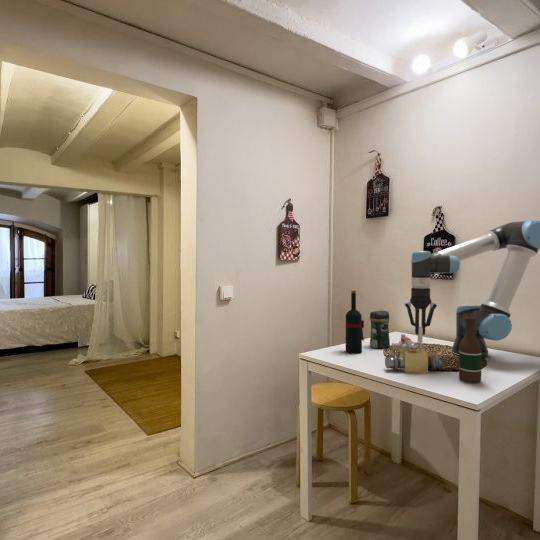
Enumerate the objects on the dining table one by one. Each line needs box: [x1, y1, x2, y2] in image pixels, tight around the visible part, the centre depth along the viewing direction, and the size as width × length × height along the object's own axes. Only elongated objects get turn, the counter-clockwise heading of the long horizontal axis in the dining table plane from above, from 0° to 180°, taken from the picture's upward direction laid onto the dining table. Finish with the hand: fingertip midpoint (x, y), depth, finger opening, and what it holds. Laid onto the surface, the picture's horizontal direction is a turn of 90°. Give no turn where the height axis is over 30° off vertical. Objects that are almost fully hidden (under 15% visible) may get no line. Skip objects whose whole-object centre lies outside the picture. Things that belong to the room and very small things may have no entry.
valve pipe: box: [384, 348, 444, 374], centre depth 156 cm, size 22×7×9 cm, turn 88°
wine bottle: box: [345, 290, 366, 355], centre depth 185 cm, size 8×10×30 cm
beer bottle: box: [458, 317, 483, 384], centre depth 143 cm, size 8×8×24 cm
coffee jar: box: [369, 310, 391, 349], centre depth 194 cm, size 10×8×19 cm
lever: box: [400, 336, 420, 349], centre depth 160 cm, size 14×4×2 cm, turn 178°
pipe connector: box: [391, 333, 409, 349], centre depth 177 cm, size 10×10×10 cm
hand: (420, 342), depth 163 cm, fingers closed
